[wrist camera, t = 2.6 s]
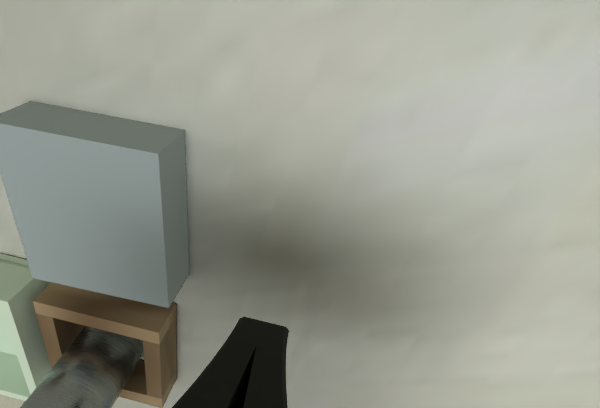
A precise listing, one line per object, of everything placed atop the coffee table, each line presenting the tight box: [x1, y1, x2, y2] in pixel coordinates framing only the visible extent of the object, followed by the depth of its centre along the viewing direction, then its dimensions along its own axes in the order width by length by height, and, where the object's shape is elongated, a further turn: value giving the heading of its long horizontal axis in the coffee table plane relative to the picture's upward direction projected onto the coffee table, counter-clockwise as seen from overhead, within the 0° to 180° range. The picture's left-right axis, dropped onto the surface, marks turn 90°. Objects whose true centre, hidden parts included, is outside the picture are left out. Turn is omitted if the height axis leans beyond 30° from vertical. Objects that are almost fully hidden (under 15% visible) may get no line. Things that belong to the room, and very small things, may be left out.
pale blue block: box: [0, 101, 189, 308], centre depth 16 cm, size 6×7×2 cm
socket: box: [33, 282, 177, 408], centre depth 20 cm, size 6×6×2 cm
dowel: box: [20, 326, 144, 408], centre depth 18 cm, size 3×3×7 cm
